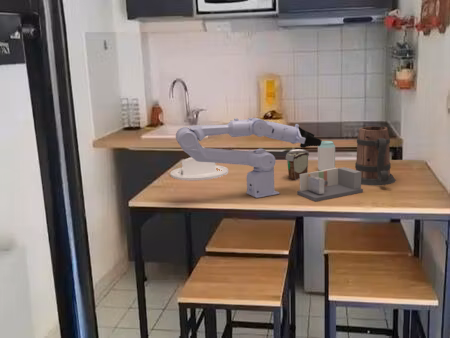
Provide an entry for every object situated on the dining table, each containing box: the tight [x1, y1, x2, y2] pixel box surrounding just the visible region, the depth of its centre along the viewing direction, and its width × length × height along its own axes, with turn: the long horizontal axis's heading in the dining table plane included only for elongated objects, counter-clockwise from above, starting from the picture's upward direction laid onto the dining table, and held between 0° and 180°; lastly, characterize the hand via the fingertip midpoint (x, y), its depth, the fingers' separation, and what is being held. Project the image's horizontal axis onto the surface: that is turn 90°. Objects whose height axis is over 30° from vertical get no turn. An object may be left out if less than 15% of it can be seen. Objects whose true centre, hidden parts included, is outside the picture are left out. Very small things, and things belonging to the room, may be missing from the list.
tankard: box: [354, 125, 397, 187], centre depth 189 cm, size 24×17×20 cm
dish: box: [170, 146, 229, 182], centre depth 217 cm, size 25×25×11 cm
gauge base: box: [296, 166, 364, 202], centre depth 178 cm, size 20×11×7 cm, turn 116°
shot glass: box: [289, 148, 306, 152], centre depth 222 cm, size 7×7×7 cm
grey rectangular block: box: [307, 174, 328, 194], centre depth 176 cm, size 6×8×5 cm
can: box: [317, 140, 336, 171], centre depth 211 cm, size 7×7×12 cm
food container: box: [285, 150, 310, 181], centre depth 203 cm, size 12×6×10 cm, turn 141°
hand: (317, 140), depth 182 cm, fingers open, 7 cm apart
